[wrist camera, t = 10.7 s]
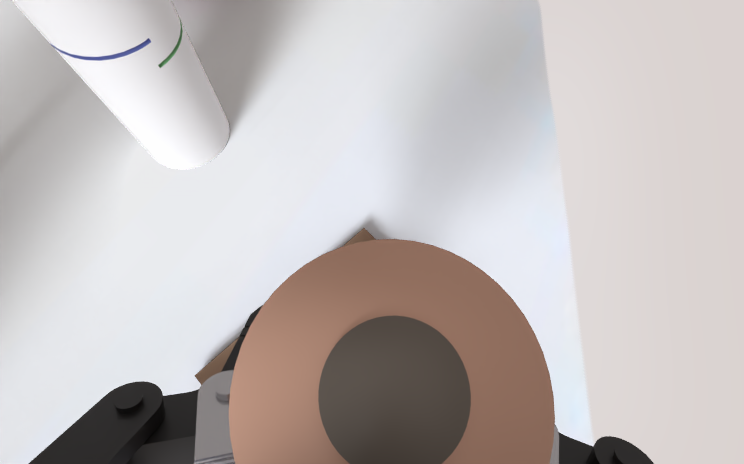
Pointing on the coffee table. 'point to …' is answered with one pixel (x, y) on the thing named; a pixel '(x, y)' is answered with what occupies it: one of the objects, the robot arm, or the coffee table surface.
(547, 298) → the coffee table surface
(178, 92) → the cylindrical container
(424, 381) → the roll
